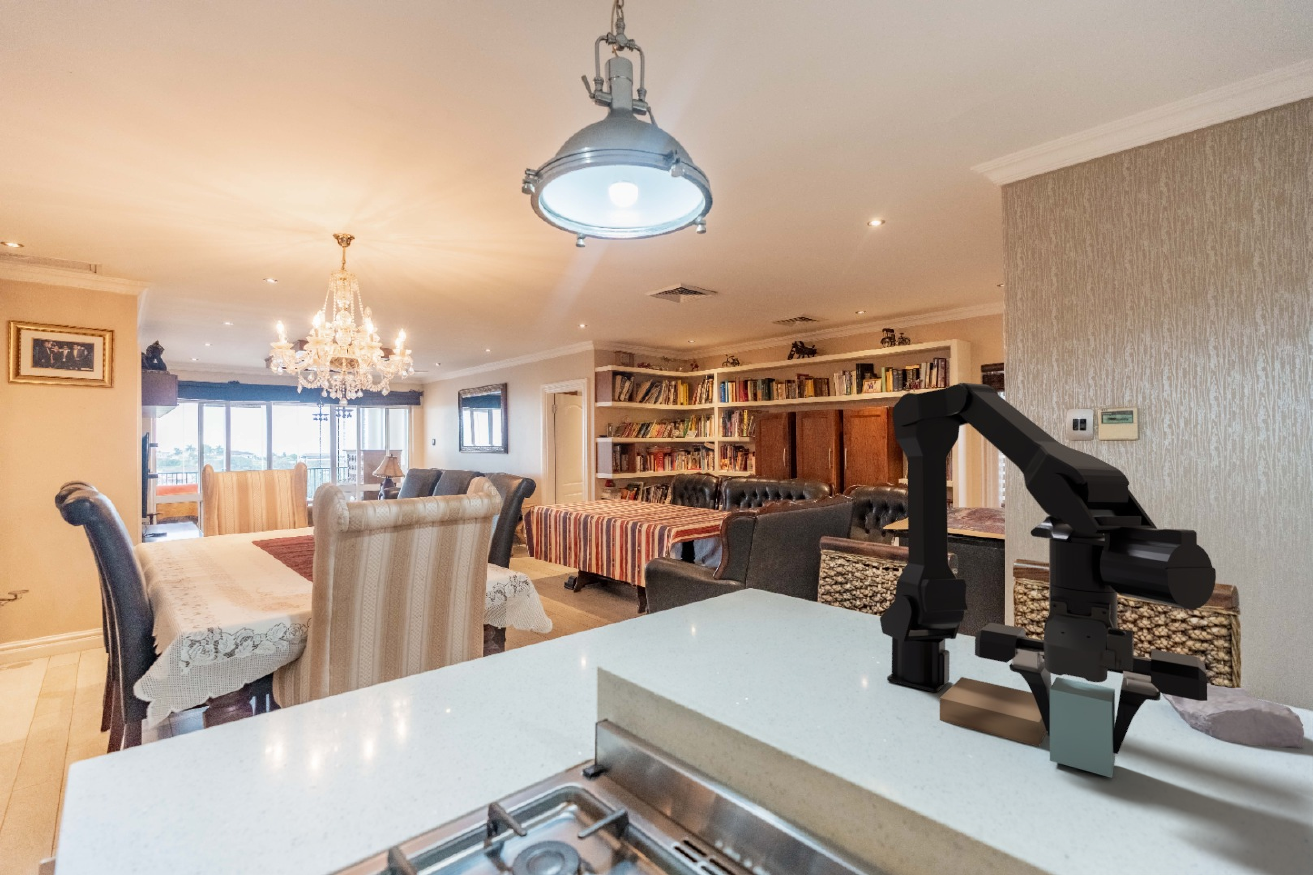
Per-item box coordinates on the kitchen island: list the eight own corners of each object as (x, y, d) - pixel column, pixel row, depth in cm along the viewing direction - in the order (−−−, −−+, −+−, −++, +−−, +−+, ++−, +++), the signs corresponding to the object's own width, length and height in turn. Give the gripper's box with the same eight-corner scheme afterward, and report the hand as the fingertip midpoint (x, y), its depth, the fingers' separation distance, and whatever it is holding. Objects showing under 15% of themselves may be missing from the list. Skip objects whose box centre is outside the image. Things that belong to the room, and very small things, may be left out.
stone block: (1215, 759, 69) (1319, 751, 67) (1203, 714, 69) (1306, 705, 68) (1152, 721, 80) (1240, 713, 79) (1143, 683, 81) (1229, 674, 79)
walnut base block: (939, 723, 73) (939, 697, 73) (961, 700, 80) (961, 676, 80) (1038, 750, 66) (1038, 722, 66) (1052, 722, 74) (1052, 697, 74)
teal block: (1049, 760, 62) (1049, 689, 62) (1056, 744, 66) (1056, 676, 66) (1111, 777, 59) (1111, 702, 59) (1115, 759, 63) (1114, 688, 63)
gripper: (962, 583, 63) (961, 741, 62) (1209, 616, 51) (1211, 811, 50) (986, 571, 71) (986, 709, 71) (1203, 597, 60) (1205, 763, 59)
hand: (1082, 743), depth 62 cm, fingers closed on teal block, 5 cm apart
